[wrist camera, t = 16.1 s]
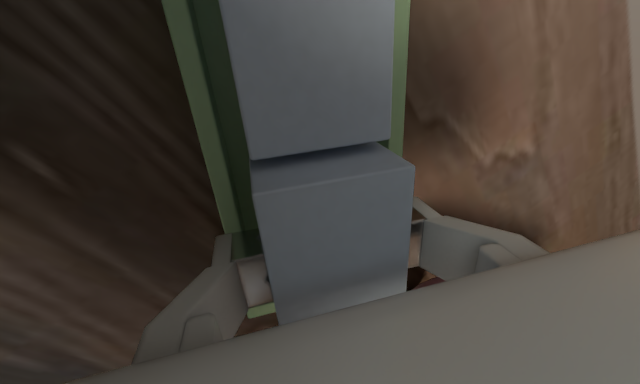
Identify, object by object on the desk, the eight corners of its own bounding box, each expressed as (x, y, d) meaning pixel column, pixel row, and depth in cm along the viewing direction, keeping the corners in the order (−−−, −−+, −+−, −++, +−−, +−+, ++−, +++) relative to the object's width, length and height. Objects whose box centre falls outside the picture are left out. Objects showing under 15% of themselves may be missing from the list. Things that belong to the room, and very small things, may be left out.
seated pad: (354, 120, 11) (392, 140, 8) (247, 134, 10) (250, 161, 7) (348, -92, 8) (402, -167, 5) (203, -93, 7) (181, -182, 5)
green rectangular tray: (380, 258, 14) (396, 281, 13) (247, 290, 13) (247, 319, 12) (387, -120, 8) (419, -160, 7) (139, -128, 7) (111, -178, 6)
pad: (368, 136, 10) (416, 165, 7) (368, 272, 12) (403, 331, 10) (248, 154, 9) (251, 194, 6) (276, 295, 11) (286, 365, 9)
